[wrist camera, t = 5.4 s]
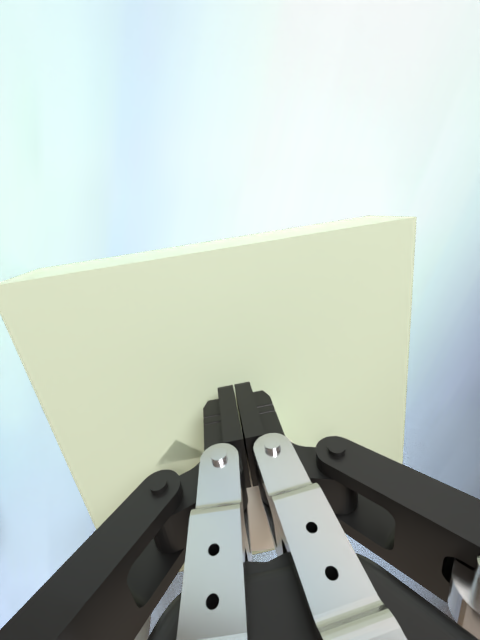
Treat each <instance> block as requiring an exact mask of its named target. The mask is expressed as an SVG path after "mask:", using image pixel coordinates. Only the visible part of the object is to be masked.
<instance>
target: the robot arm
mask: <svg viewBox="0 0 480 640" xmlns="http://www.w3.org/2000/svg"><path fill="white" fill-rule="evenodd" d="M234 387H235V393H236V398H235V393H234V388H233V385H228V386H223V387H218V388H217V389H218V399H214V400H209V401H207V403H206V405H205V406H204V408H203V418H204V419H203V422H204V452H203V454H202V455H201V458H200V462H199V463H198V464H197V465H196V466H195V467H194V468H192V469H191V470H189V471H187V472H185V473H183V474H181V475H178V474H177V473H176V472H175V471H172V470H160V471H157V472H154V473H153V474H151V475H149V476H148V477H147V478H146V479H145V480H144V481H143V482H142V483H141V484H140V485H139V486H138V487H137V488H136V489H135V490H134V491H133V492H132V493H131V494H130V495H129V496H128V497H127V498H126V499H125V501H124V502H123V503H122V504H121V505H120V506H119V507H118V508H117V509H116V510H115V511H114V512H113V513H112V514H111V515H110V516H109V517H108V518H107V519H106V520H105V521H104V522H103V523H102V524H101V526H100V527H99V528H98V529H97V530H96V531H95V532H94V533H93V534H92V535H91V536H90V537H89V538H88V539H87V540H86V541H85V542H84V543H83V544H82V545H81V546H80V547H79V548H78V549H77V550H76V552H75V553H74V554H73V555H72V556H71V557H70V558H69V559H68V560H67V561H66V562H65V563H64V564H63V565H62V566H61V567H60V568H59V569H58V570H57V571H56V572H55V573H54V574H53V575H52V577H51V578H50V579H49V580H48V581H47V582H46V583H45V584H44V585H43V586H42V587H41V588H40V589H39V590H38V591H37V592H36V593H35V594H34V595H33V596H32V597H31V598H30V599H29V600H28V601H27V603H26V604H25V605H24V606H23V607H22V608H21V609H20V610H19V611H18V612H17V613H16V614H15V615H14V616H13V617H12V618H11V619H10V620H9V621H8V622H7V623H6V624H5V625H4V626H3V627H2V629H1V630H0V640H134V639H135V638H136V636H137V634H138V633H139V631H140V630H141V628H142V627H143V625H144V624H145V622H146V621H147V619H148V618H149V616H150V615H151V613H152V612H153V610H154V608H155V607H156V605H157V604H158V602H159V601H160V599H161V598H162V596H163V595H164V593H165V592H166V590H167V589H168V587H169V586H170V584H171V582H172V581H173V579H174V578H175V576H176V575H177V573H178V572H179V570H180V569H181V567H182V566H183V564H184V563H185V564H184V574H183V583H182V592H181V593H180V594H179V595H178V596H177V597H176V598H175V599H174V600H173V601H172V603H171V604H170V605H169V606H168V607H167V609H166V610H165V611H164V613H163V614H162V616H161V617H160V619H159V620H158V622H157V624H156V625H155V627H154V629H153V631H152V632H151V634H150V636H149V637H148V639H147V640H480V500H479V499H477V498H475V497H473V496H471V495H468V494H466V493H464V492H462V491H460V490H457V489H455V488H453V487H451V486H449V485H447V484H444V483H442V482H440V481H438V480H436V479H433V478H431V477H429V476H427V475H425V474H422V473H420V472H418V471H416V470H414V469H411V468H409V467H407V466H405V465H403V464H401V463H398V462H396V461H394V460H392V459H390V458H387V457H385V456H383V455H381V454H379V453H376V452H374V451H372V450H370V449H368V448H365V447H363V446H361V445H359V444H357V443H355V442H352V441H350V440H348V439H346V438H343V437H339V436H328V437H325V438H323V439H321V440H320V441H319V442H318V443H317V445H316V447H305V446H299V445H296V444H294V443H292V442H291V441H290V440H289V439H288V438H287V437H286V436H285V434H284V432H283V429H282V426H281V424H280V421H279V419H278V416H277V413H276V411H275V408H274V405H273V403H272V400H271V398H270V396H269V395H268V394H267V393H266V392H264V391H263V390H261V391H256V392H253V391H252V388H251V385H250V382H244V383H239V384H234ZM236 399H237V404H236ZM237 405H238V409H237ZM238 411H239V414H238ZM239 417H240V419H239ZM240 422H241V424H240ZM241 428H242V429H241ZM242 433H243V435H242ZM243 438H244V440H243ZM244 443H245V446H244ZM245 448H246V452H245ZM246 453H247V458H248V463H249V468H250V474H251V479H252V484H253V487H254V486H259V490H260V495H261V502H262V507H263V510H264V514H265V517H266V520H267V524H268V527H269V530H270V534H271V537H272V540H273V544H274V547H275V550H276V554H277V557H276V558H275V559H273V560H271V561H269V562H253V561H252V549H251V537H250V525H249V513H248V506H247V504H248V495H247V489H246V488H250V487H251V482H250V476H249V470H248V464H247V458H246ZM345 533H346V534H347V535H349V536H350V537H351V538H353V539H354V540H356V541H357V542H359V543H360V544H362V545H363V546H365V547H366V548H368V549H369V550H370V551H372V552H373V553H375V554H376V555H378V556H379V557H381V558H382V559H384V560H385V561H387V562H388V563H389V564H391V565H392V566H394V567H395V568H397V569H398V570H400V571H401V572H403V573H404V574H406V575H407V576H409V577H410V578H411V579H413V580H414V581H416V582H417V583H419V584H420V585H422V586H423V587H425V588H426V589H428V590H429V591H430V592H432V593H433V594H435V595H436V596H438V597H439V598H441V599H442V600H444V601H445V602H447V603H448V605H449V608H450V611H451V613H452V615H453V617H454V619H455V621H456V622H457V623H456V622H455V621H453V620H452V619H451V618H449V617H448V616H447V615H445V614H444V613H443V612H441V611H440V610H439V609H437V608H436V607H435V606H433V605H432V604H431V603H429V602H428V601H427V600H425V599H424V598H423V597H421V596H420V595H419V594H417V593H416V592H415V591H413V590H412V589H410V588H409V587H408V586H406V585H405V584H404V583H402V582H401V581H400V580H398V579H397V578H396V577H394V576H393V575H392V574H390V573H389V572H388V571H386V570H385V569H384V568H382V567H381V566H379V565H378V564H377V563H375V562H373V561H372V560H370V559H368V558H366V557H364V556H362V555H360V554H357V553H355V551H354V549H353V548H352V546H351V544H350V542H349V540H348V538H347V536H346V534H345Z"/></svg>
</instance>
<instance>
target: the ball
mask: <svg viewBox="0 0 480 640" xmlns="http://www.w3.org/2000/svg"><path fill="white" fill-rule="evenodd" d="M241 429H242V428H241ZM242 435H243V433H242ZM287 438H288V437H287ZM288 439H289V438H288ZM243 440H244V438H243ZM289 440H290V439H289ZM290 441H291V440H290ZM291 442H292V441H291ZM292 443H293V442H292ZM244 446H245V443H244ZM245 452H246V448H245ZM246 458H247V453H246ZM247 464H248V470H249V476H250V482H251V487H250V488H246V489H247V495H248V504H247V506H248V513H249V525H250V537H251V549H252V551H264V550H269V549H272V548H275V547H274V544H273V540H272V537H271V534H270V530H269V527H268V524H267V520H266V517H265V514H264V510H263V507H262V502H261V495H260V490H259V486H254V487H253V484H252V479H251V474H250V468H249V463H248V458H247Z"/></svg>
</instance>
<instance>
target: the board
mask: <svg viewBox="0 0 480 640" xmlns="http://www.w3.org/2000/svg"><path fill="white" fill-rule="evenodd" d="M415 234H416V217H402V216H363V217H357V218H351V219H345V220H338V221H332V222H326V223H320V224H313V225H307V226H301V227H295V228H288V229H282V230H276V231H270V232H263V233H257V234H251V235H245V236H239V237H232V238H226V239H220V240H214V241H207V242H201V243H195V244H189V245H182V246H176V247H170V248H164V249H157V250H151V251H145V252H139V253H132V254H126V255H120V256H114V257H108V258H101V259H95V260H89V261H83V262H76V263H70V264H64V265H58V266H51V267H45V268H39V269H36V270H33V271H30V272H27V273H24V274H22V275H19V276H16V277H13V278H10V279H8V280H5V281H2V282H0V314H1V316H2V319H3V321H4V323H5V325H6V328H7V330H8V332H9V334H10V337H11V339H12V341H13V343H14V346H15V348H16V350H17V352H18V355H19V357H20V359H21V361H22V364H23V366H24V368H25V370H26V373H27V375H28V377H29V379H30V382H31V384H32V386H33V388H34V391H35V393H36V395H37V397H38V400H39V402H40V404H41V406H42V409H43V411H44V413H45V415H46V418H47V420H48V422H49V424H50V427H51V429H52V431H53V433H54V436H55V438H56V440H57V442H58V445H59V447H60V449H61V451H62V454H63V456H64V458H65V460H66V462H67V465H68V467H69V469H70V471H71V474H72V476H73V478H74V480H75V483H76V485H77V487H78V489H79V492H80V494H81V496H82V498H83V501H84V503H85V505H86V507H87V510H88V512H89V514H90V516H91V519H92V521H93V523H94V525H95V528H96V530H97V529H98V528H99V527H100V526H101V524H102V523H103V522H104V521H105V520H106V519H107V518H108V517H109V516H110V515H111V514H112V513H113V512H114V511H115V510H116V509H117V508H118V507H119V506H120V505H121V504H122V503H123V502H124V501H125V499H126V498H127V497H128V496H129V495H130V494H131V493H132V492H133V491H134V490H135V489H136V488H137V487H138V486H139V485H140V484H141V483H142V482H143V481H144V480H145V479H146V478H147V477H148V476H149V475H151V474H153V473H154V472H157V471H160V470H172V471H175V472H176V473H177V474H178V475H181V474H183V473H185V472H187V471H189V470H191V469H192V468H194V467H195V466H196V465H197V464H198V463H199V462H200V458H201V455H202V454H203V452H204V422H203V419H204V418H203V408H204V406H205V405H206V403H207V401H209V400H214V399H218V389H217V388H218V387H223V386H228V385H233V388H234V393H235V387H234V384H239V383H244V382H250V385H251V388H252V391H253V392H256V391H261V390H263V391H264V392H266V393H267V394H268V395H269V396H270V398H271V400H272V403H273V405H274V408H275V411H276V413H277V416H278V419H279V421H280V424H281V426H282V429H283V432H284V434H285V436H286V437H288V438H289V439H290V440H291V441H292V442H293V443H294V444H296V445H299V446H305V447H316V445H317V443H318V442H319V441H320V440H321V439H323V438H325V437H328V436H339V437H343V438H346V439H348V440H350V441H352V442H355V443H357V444H359V445H361V446H363V447H365V448H368V449H370V450H372V451H374V452H376V453H379V454H381V455H383V456H385V457H387V458H390V459H392V460H394V461H396V462H398V463H401V464H402V461H403V444H404V426H405V409H406V392H407V374H408V357H409V339H410V322H411V304H412V287H413V269H414V252H415ZM235 398H236V393H235ZM236 404H237V399H236ZM237 409H238V405H237ZM238 414H239V411H238ZM239 419H240V417H239ZM240 424H241V422H240ZM271 550H275V548H272V549H269V550H264V551H252V555H254V554H258V553H262V552H267V551H271ZM184 564H185V563H184ZM184 564H183V566H182V567H181V569H180V570H179V572H181V571H184ZM150 620H151V615H150V616H149V618H148V619H147V621H146V622H145V624H144V625H143V627H142V628H141V630H140V631H139V633H138V634H137V636H136V638H135V639H134V640H147V639H148V637H149V629H150Z"/></svg>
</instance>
